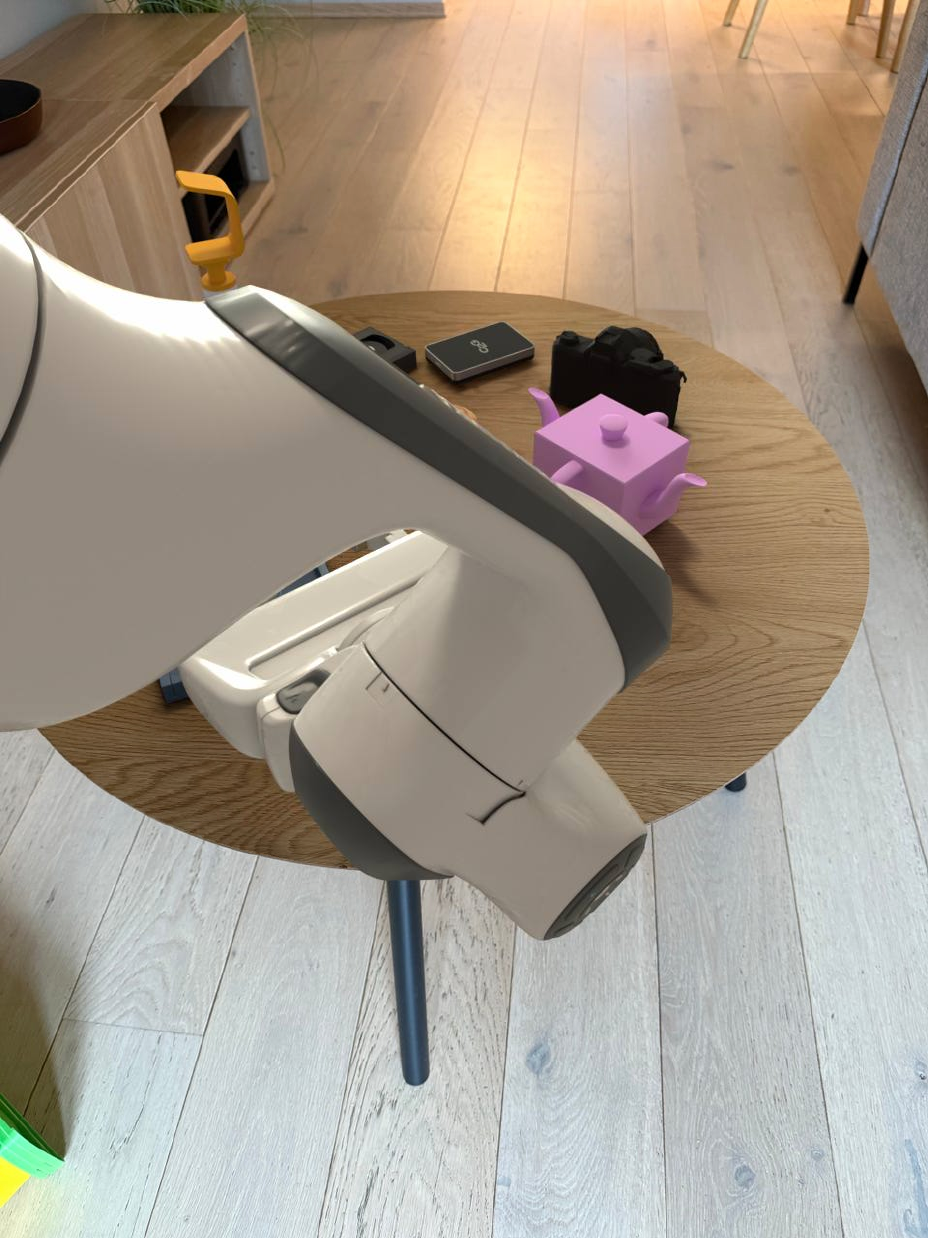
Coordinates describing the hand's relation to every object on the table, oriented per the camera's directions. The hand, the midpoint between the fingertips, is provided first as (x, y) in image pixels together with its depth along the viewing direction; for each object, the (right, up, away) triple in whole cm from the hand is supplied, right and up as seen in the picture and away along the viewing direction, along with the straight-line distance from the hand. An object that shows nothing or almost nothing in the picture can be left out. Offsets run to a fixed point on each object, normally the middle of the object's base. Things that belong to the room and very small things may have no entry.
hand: (288, 552), depth 61 cm
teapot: (+24, +5, +28) cm, 38 cm away
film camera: (+28, +19, +42) cm, 54 cm away
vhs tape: (-2, +23, +46) cm, 51 cm away
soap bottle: (-12, +18, +42) cm, 47 cm away
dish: (-7, -5, +19) cm, 21 cm away
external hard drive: (+13, +25, +48) cm, 55 cm away
